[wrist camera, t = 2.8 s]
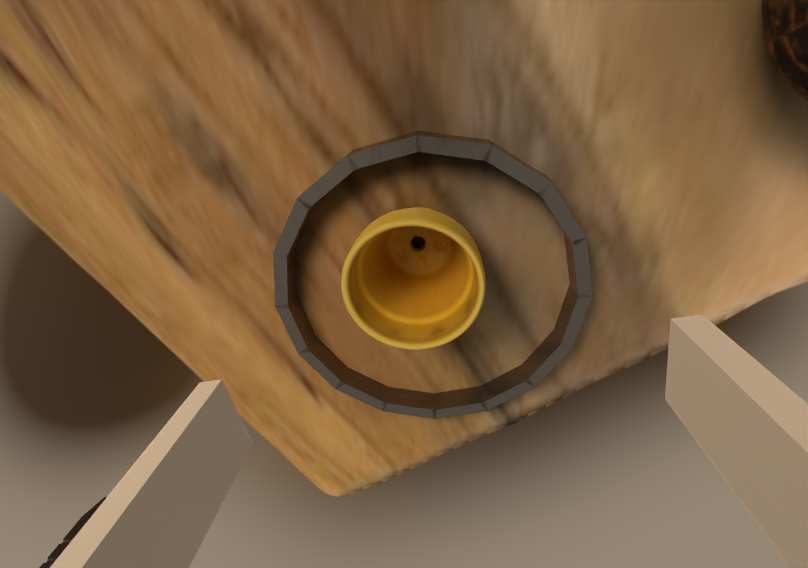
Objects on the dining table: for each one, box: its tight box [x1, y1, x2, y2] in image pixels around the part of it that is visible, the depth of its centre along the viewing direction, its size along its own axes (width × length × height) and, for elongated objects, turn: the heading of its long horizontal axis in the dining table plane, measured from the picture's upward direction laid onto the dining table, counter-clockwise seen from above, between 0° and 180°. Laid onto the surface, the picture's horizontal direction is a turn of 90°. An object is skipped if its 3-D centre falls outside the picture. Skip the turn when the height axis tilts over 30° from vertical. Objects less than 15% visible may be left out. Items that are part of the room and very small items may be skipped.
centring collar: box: [273, 131, 593, 419], centre depth 38 cm, size 28×28×2 cm
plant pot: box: [341, 207, 486, 350], centre depth 33 cm, size 10×10×10 cm
